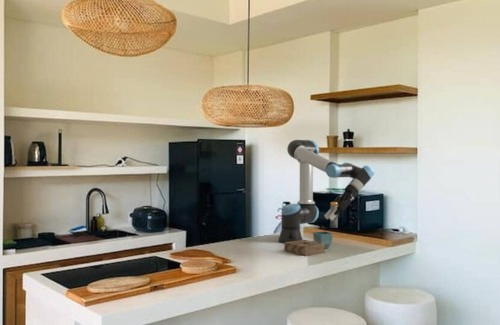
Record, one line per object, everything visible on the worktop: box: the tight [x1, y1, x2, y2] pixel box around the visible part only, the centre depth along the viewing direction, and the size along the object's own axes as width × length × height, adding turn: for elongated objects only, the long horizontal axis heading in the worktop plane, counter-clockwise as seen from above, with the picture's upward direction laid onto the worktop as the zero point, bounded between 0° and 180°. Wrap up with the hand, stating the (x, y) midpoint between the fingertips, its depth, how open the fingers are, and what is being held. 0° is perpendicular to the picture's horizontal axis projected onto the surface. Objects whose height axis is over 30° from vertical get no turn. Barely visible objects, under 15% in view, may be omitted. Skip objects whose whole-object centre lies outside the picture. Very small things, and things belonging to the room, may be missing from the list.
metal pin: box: [329, 201, 339, 229], centre depth 266 cm, size 4×4×14 cm
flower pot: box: [312, 231, 334, 249], centre depth 282 cm, size 9×9×9 cm
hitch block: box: [283, 239, 326, 257], centre depth 269 cm, size 16×16×5 cm
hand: (328, 218), depth 265 cm, fingers closed on metal pin, 4 cm apart
